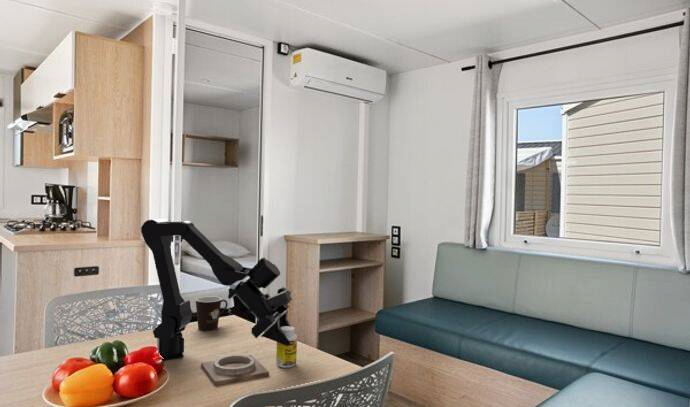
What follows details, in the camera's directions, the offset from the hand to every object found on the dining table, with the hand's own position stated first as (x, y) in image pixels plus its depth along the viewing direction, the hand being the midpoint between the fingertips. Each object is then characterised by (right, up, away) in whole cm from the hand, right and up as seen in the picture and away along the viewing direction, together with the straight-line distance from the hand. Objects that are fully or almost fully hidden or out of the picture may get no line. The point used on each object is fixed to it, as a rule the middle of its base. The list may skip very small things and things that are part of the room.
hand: (291, 341), depth 128 cm
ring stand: (-15, -6, -5) cm, 17 cm away
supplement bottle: (-2, -7, 0) cm, 7 cm away
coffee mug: (-31, -5, +33) cm, 46 cm away
